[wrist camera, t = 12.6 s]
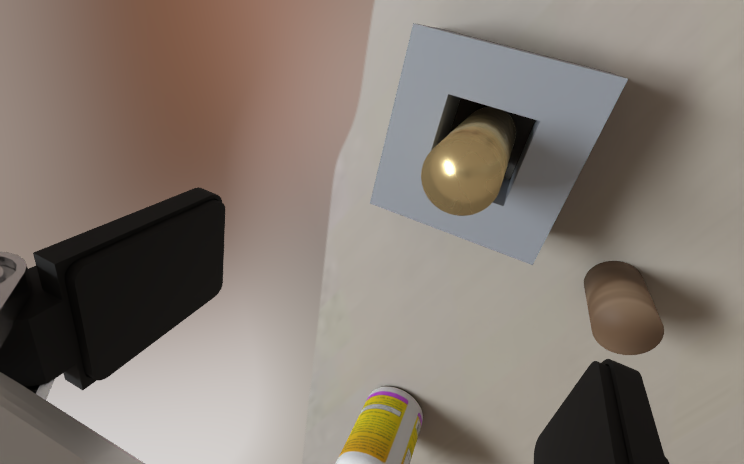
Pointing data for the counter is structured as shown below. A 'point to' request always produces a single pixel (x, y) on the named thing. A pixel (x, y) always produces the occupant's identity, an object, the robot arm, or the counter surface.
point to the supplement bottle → (384, 429)
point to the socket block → (506, 92)
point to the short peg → (621, 309)
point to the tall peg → (470, 163)
